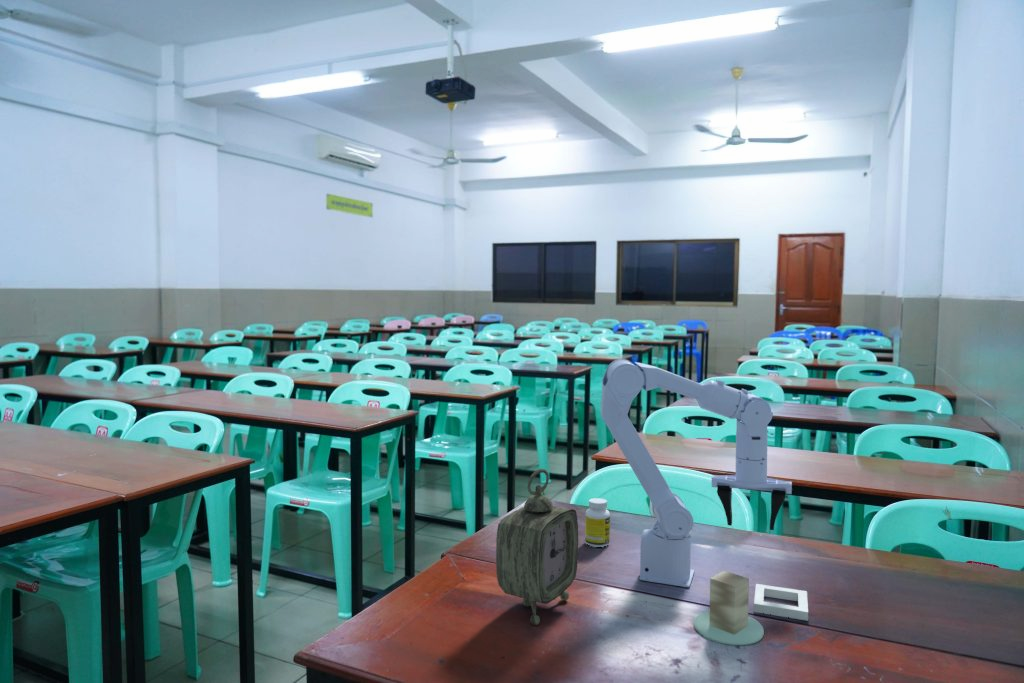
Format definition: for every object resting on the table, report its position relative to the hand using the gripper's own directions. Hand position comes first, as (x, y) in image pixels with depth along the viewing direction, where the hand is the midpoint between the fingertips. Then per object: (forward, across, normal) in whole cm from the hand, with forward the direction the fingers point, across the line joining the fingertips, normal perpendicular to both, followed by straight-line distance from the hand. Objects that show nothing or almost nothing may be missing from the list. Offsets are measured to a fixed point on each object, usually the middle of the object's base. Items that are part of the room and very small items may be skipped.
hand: (750, 526), depth 132 cm
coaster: (+10, +2, +22) cm, 25 cm away
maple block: (+10, +2, +22) cm, 24 cm away
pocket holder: (+10, -6, +10) cm, 16 cm away
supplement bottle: (+10, +32, -7) cm, 35 cm away
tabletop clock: (+10, +34, +27) cm, 45 cm away
